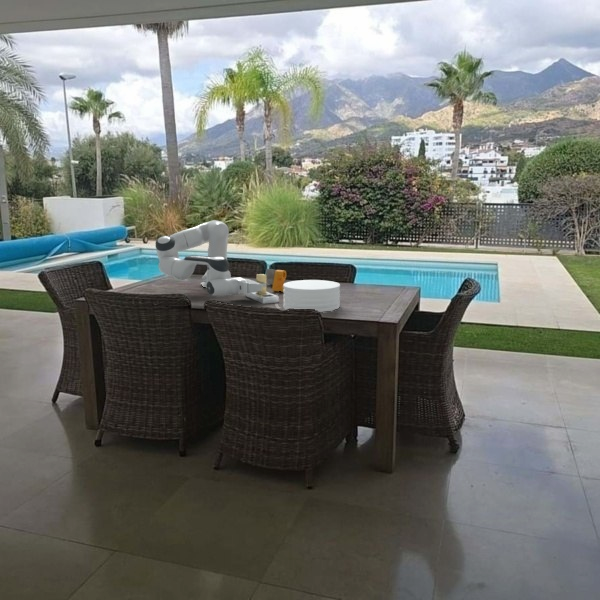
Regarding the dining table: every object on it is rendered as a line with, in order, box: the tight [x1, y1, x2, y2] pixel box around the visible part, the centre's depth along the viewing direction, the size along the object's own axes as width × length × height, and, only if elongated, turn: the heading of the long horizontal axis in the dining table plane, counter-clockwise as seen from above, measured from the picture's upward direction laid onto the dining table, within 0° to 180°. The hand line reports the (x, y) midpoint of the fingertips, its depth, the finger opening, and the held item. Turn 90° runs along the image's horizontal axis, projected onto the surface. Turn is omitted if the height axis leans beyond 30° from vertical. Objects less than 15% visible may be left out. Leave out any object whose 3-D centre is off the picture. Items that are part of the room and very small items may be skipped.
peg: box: [255, 273, 267, 295], centre depth 307 cm, size 4×4×13 cm
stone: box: [265, 268, 286, 286], centre depth 348 cm, size 15×5×10 cm, turn 47°
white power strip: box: [244, 291, 280, 305], centre depth 308 cm, size 24×9×3 cm, turn 27°
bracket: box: [271, 269, 287, 293], centre depth 330 cm, size 11×7×12 cm, turn 152°
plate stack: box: [282, 279, 341, 311], centre depth 288 cm, size 28×28×12 cm
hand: (262, 283), depth 307 cm, fingers open, 5 cm apart
